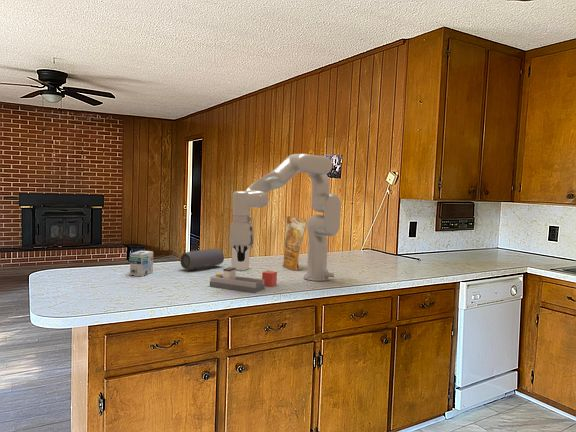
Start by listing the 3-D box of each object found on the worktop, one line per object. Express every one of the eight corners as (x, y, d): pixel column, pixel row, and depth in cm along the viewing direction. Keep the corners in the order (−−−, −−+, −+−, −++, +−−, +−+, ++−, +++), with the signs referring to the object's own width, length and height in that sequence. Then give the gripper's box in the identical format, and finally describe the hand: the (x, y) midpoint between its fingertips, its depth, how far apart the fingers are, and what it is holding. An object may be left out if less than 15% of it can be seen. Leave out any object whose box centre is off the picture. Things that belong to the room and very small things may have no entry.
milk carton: (231, 269, 240) (232, 233, 239) (236, 267, 247) (238, 232, 246) (243, 270, 238) (244, 234, 237) (248, 268, 245) (250, 233, 243)
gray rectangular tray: (264, 288, 201) (264, 276, 201) (254, 292, 192) (254, 280, 192) (221, 282, 210) (221, 270, 210) (209, 286, 201) (209, 274, 200)
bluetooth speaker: (212, 264, 252) (213, 247, 251) (224, 267, 246) (225, 249, 245) (179, 270, 234) (179, 250, 233) (190, 272, 228) (191, 253, 227)
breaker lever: (235, 280, 204) (235, 267, 204) (229, 282, 199) (229, 269, 199) (229, 279, 206) (229, 266, 205) (223, 282, 200) (223, 268, 200)
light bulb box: (142, 276, 214) (142, 254, 214) (129, 275, 216) (129, 253, 215) (153, 272, 225) (153, 251, 224) (140, 271, 226) (141, 250, 225)
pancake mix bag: (289, 264, 261) (291, 215, 259) (305, 271, 244) (307, 219, 242) (279, 265, 258) (281, 215, 256) (294, 271, 241) (296, 219, 239)
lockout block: (276, 284, 210) (277, 271, 209) (271, 286, 205) (272, 273, 205) (266, 283, 211) (267, 270, 211) (261, 285, 207) (262, 272, 206)
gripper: (260, 219, 199) (260, 261, 201) (230, 217, 205) (230, 258, 207) (252, 221, 192) (252, 264, 194) (221, 219, 198) (221, 261, 200)
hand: (241, 261), depth 200 cm, fingers closed
